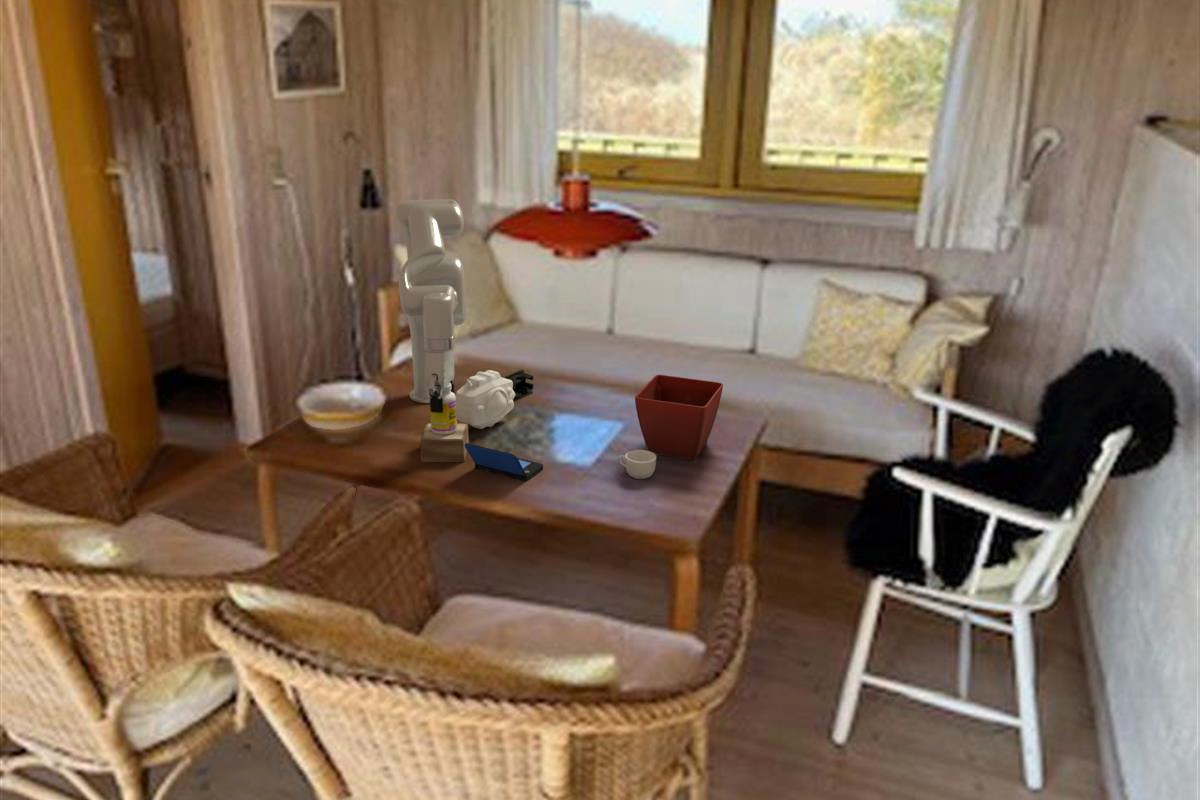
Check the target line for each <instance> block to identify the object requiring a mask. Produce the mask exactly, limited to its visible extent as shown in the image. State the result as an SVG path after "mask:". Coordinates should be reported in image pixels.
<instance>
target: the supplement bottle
mask: <svg viewBox="0 0 1200 800" xmlns="http://www.w3.org/2000/svg"><path fill="white" fill-rule="evenodd" d="M436 386H440V385H436ZM451 389H452V387H451V383H449V384H448V385H447V386H446V387H445V388H444V389H443V390H442V395H441V398H443V412H442V413H435V412H431V409H430V424H431V429H432V431H433V432H434V433H436V434H440V435H446V434H451V433H453V432H455V431H456V430H457V424H458V420H457V415H456V393H455V394H454V393H453V392H451ZM435 391H437V392H438V393H439V390H436V389H435Z"/></svg>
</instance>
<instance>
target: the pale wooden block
mask: <svg viewBox="0 0 1200 800" xmlns="http://www.w3.org/2000/svg"><path fill="white" fill-rule="evenodd" d="M469 436H470V435H469V424H467V423H457V430H456V431H455V432H453V433H451V434H446V435H440V434H436V433H434V432H433V431H432V429H431V423H426V425H425V427H424V430H423V432H422V434H421V437H420V440H419V444H420V445H419V446H420V459H421V463H436V462H437V463H464V462H465V459H466V457H467V453H468V451H467V449H466V448H465V444H466V443H468V444H470V440H469V438H470V437H469Z"/></svg>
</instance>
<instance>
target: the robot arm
mask: <svg viewBox="0 0 1200 800" xmlns="http://www.w3.org/2000/svg"><path fill="white" fill-rule="evenodd" d="M394 210H395V211H394V212H395V219H396V222H397V224H398V227H399V230H400V231H401V233H402V236H403V239H404V241H405V244H406V252H407V253H406V256H407V257H406V258H407V259H406V261H405V262H404V264H403V265H402V267H401V269H400V273H399V276H398V277H399V278H398V291H399V299H400V306H401V309H402V312H403V313H404V314H405V315H406V316H407V321H408V327H409V332H410V342H411V343H410V344H411V357H412V371H413V385H414V386H413V387H414V388H413V389H412V390H411V391H410V392H409V398H410V399H411V400H412V401H413V402H415V403H419V404H420V403H421V404H429V408H430V409H431V412H435V413H442V412H443V398H441V395H442V390H443V389H444V388H445V387H446V386H447V385H448V384H449V383H451V387H452V389H451V392H453V393H454V394H455V395H456V393H455V358H454V349H455V348H456V343H455V342H456V341H455V340H456V339H455V326H459V325H460V326H461V325H463V324H464V323H465V322H466V320H467V298H466V297H467V295H466V280H465V278H466V277H465V271H464V270H465V269H464V265H463V262H462V261H461V260H460V258H458V257H456V256H446V248H445V242H444V236H459V235H461V234H462V233H463V231H464V227H465V226H464V225H465V224H464V223H465V221H464V220H465V219H464V213H463V211H462V207H461V206H460V205H459V203H458V202H457V201H456V200H455V199H450V198H449V199H448V198H446V199H444V198H442V199H439V198H438V199H411V200H410V199H409V200H405V201H404V200H403V201H401V202H399V203H398V204H396V206H395V209H394ZM436 385H440V386H436ZM435 389H436V390H439V393H438V392H437V391H435ZM431 412H430V413H431Z"/></svg>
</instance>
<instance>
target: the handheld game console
mask: <svg viewBox="0 0 1200 800" xmlns="http://www.w3.org/2000/svg"><path fill="white" fill-rule="evenodd" d="M465 448H466V449H467V453H468V454H469V456H470V458H471V459H472V462H473V463H474V469H475V470H478V471H482V472H486V473H490V474H495V475H502V476H503V477H506V478H509V479H512V480H517V481H520V482H524V483H525V482H527V481H528V480H529V479H531V478H532V477H534V476H535V475H537V474H538V473H539V472H541V471H542V470H543V469H544V464H543V463H540V462H536V461H533V460H528V459H525V458H520V457H517V455H516V454H513V453H509V452H506V451H501V450H497V449H493V448H488V447H485V446H482V445H476V444H473V443H469V444H468V443H466V444H465Z"/></svg>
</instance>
